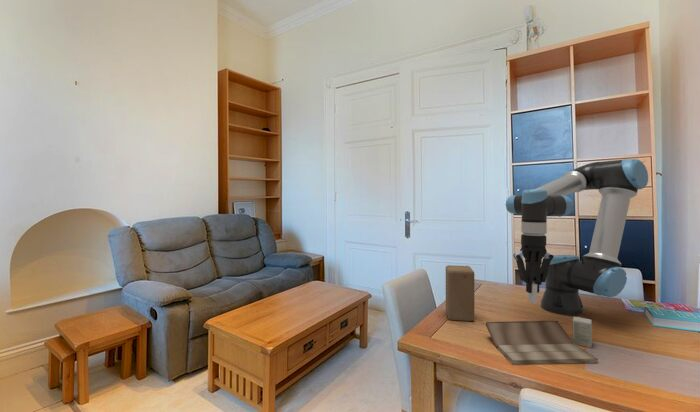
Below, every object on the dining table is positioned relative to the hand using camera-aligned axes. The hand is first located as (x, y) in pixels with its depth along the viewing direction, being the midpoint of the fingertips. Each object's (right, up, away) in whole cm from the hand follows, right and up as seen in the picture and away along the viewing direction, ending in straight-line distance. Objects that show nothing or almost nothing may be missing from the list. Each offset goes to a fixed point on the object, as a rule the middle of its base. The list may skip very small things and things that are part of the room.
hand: (532, 302), depth 107 cm
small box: (+14, -12, -5) cm, 19 cm away
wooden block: (-19, -12, +19) cm, 29 cm away
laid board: (-3, -13, -12) cm, 18 cm away
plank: (-3, -10, -3) cm, 11 cm away
